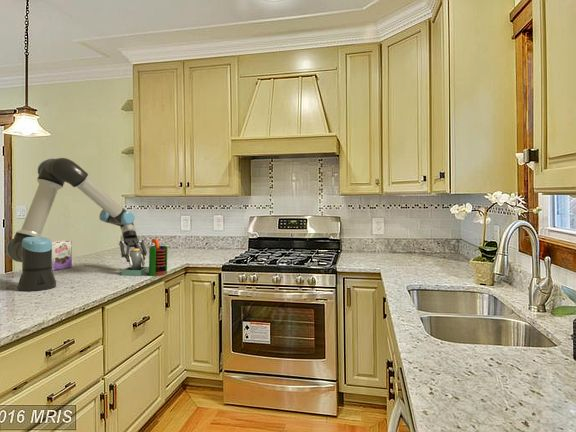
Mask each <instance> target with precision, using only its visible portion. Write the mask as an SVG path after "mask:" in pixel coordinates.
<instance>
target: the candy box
mask: <svg viewBox="0 0 576 432" xmlns="http://www.w3.org/2000/svg"><path fill="white" fill-rule="evenodd" d="M51 242H52V272H53V271H60V270H65V269H70V268H71V269H72V267H73V266H72V265H73V263H72V257H73V254H72V249H73V247H72V246H73V245H72V244H73V242H72V240H55V241H51Z"/></svg>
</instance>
